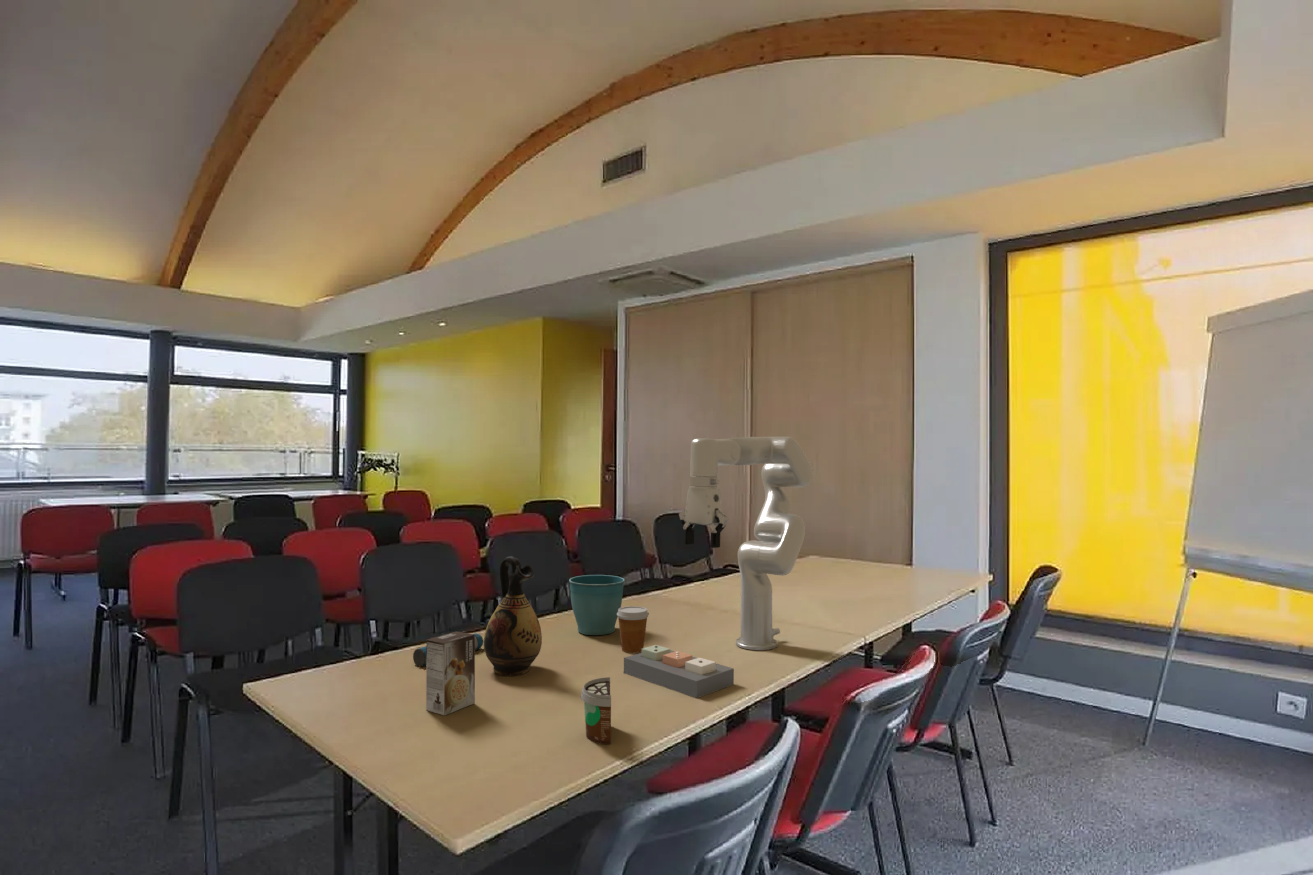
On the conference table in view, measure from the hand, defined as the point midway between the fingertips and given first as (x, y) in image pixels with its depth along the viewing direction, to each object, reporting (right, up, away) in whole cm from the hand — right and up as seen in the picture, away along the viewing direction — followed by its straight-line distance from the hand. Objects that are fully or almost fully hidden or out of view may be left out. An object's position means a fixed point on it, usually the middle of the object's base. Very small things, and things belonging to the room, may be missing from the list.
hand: (702, 545), depth 188 cm
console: (-7, -33, -10) cm, 35 cm away
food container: (-25, -32, -46) cm, 62 cm away
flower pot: (-32, -34, +36) cm, 59 cm away
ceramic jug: (-52, -33, -4) cm, 61 cm away
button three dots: (-7, -30, -10) cm, 33 cm away
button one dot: (-1, -30, -16) cm, 34 cm away
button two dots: (-13, -30, -5) cm, 33 cm away
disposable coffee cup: (-20, -34, +15) cm, 42 cm away
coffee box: (-60, -32, -31) cm, 75 cm away
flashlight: (-71, -33, +8) cm, 79 cm away
